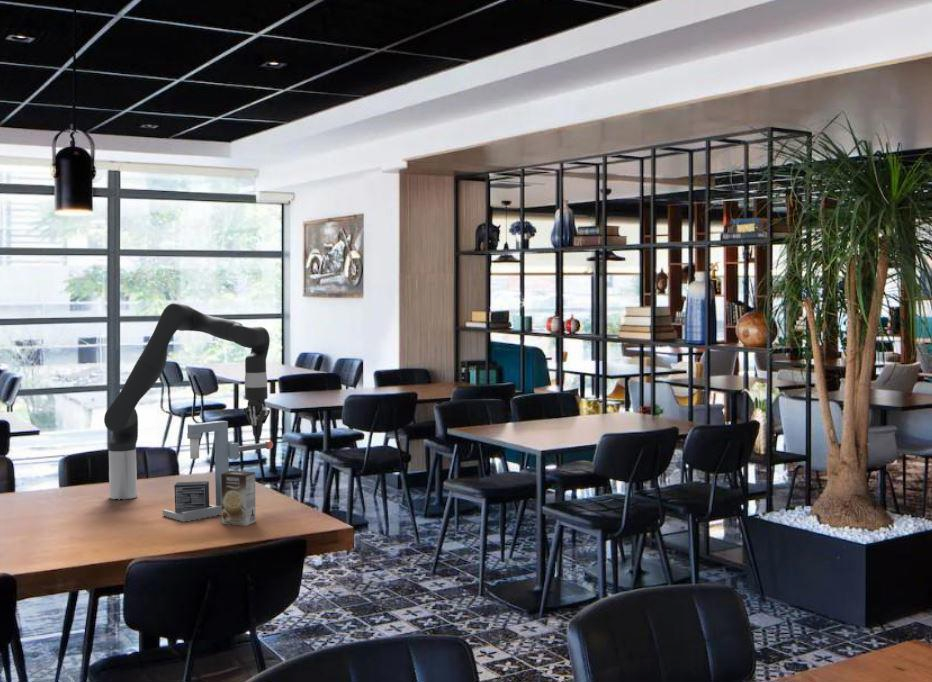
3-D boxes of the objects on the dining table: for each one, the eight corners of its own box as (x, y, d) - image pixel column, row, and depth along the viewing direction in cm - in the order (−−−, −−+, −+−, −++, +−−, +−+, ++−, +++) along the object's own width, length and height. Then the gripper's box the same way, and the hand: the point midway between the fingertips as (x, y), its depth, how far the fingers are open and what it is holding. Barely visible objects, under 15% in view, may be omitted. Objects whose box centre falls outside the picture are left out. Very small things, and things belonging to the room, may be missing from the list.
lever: (274, 449, 353) (274, 440, 352) (229, 455, 340) (229, 446, 340) (269, 448, 355) (269, 439, 355) (225, 454, 342) (224, 445, 342)
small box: (210, 511, 340) (209, 480, 340) (207, 515, 334) (207, 483, 333) (177, 512, 339) (176, 481, 338) (174, 517, 332) (173, 485, 332)
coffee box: (220, 524, 321) (219, 473, 320) (231, 519, 327) (230, 470, 326) (246, 526, 318) (245, 475, 317) (256, 521, 324) (255, 471, 323)
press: (162, 516, 334) (160, 424, 332) (223, 505, 350) (221, 418, 348) (183, 522, 324) (181, 428, 323) (244, 510, 340) (243, 421, 339)
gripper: (276, 385, 346) (277, 436, 347) (254, 383, 356) (255, 433, 356) (257, 387, 341) (258, 439, 342) (235, 385, 350) (236, 435, 351)
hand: (257, 436), depth 349 cm, fingers closed
